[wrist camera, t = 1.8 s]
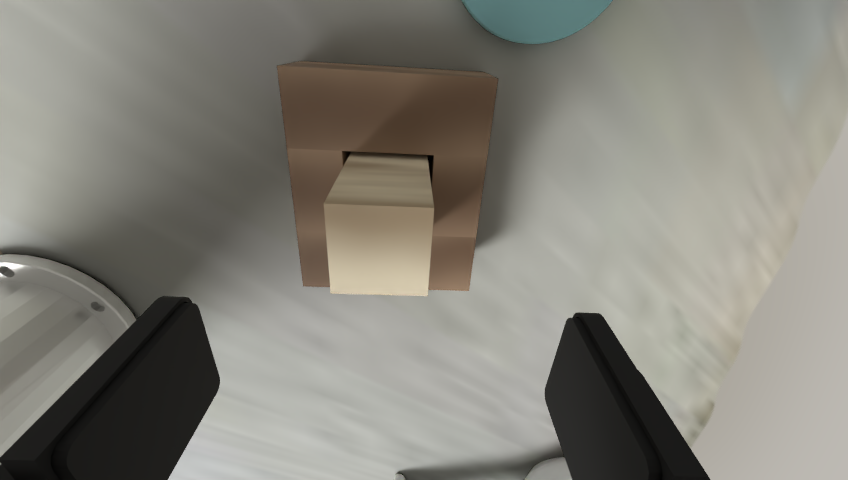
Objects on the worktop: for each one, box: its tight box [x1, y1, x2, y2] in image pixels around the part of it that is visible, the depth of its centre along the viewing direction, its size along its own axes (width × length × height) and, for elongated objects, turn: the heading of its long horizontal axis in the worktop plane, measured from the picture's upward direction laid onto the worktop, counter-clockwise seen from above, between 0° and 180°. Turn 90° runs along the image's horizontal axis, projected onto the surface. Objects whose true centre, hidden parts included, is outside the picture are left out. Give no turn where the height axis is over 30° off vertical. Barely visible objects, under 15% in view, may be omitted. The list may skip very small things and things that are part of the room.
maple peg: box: [324, 151, 434, 296], centre depth 19 cm, size 4×4×10 cm
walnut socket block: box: [277, 61, 498, 291], centre depth 21 cm, size 12×10×4 cm
